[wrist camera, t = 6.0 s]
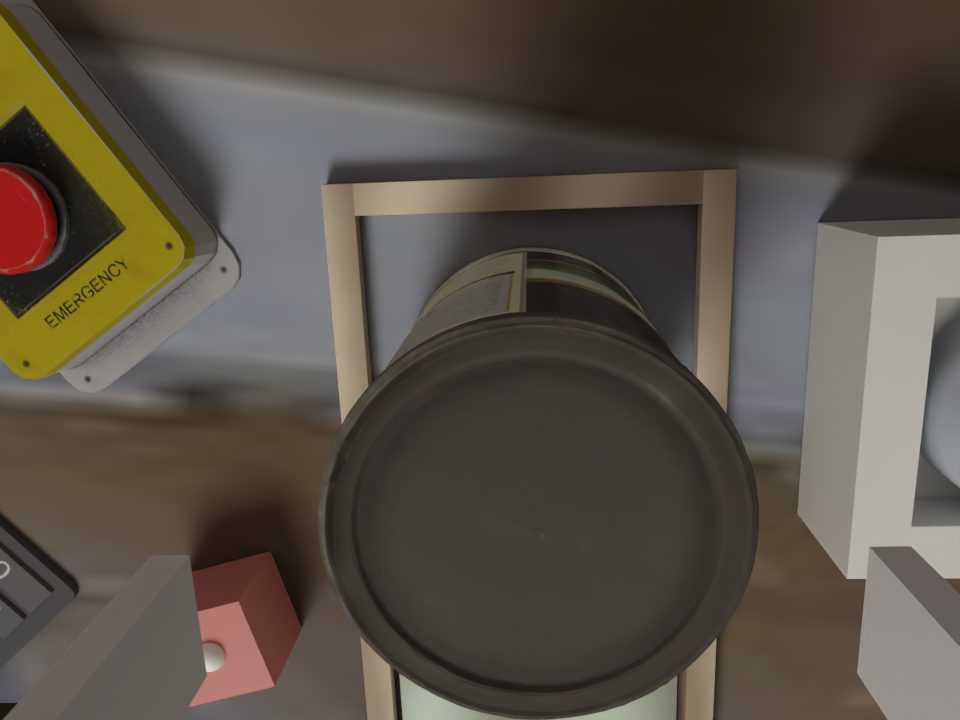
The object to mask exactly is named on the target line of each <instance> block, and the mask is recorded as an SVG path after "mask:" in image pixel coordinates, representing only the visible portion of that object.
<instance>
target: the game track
mask: <svg viewBox="0 0 960 720" xmlns="http://www.w3.org/2000/svg"><path fill="white" fill-rule="evenodd" d="M736 188H737V169H717V170H690V171H663V172H636V173H610V174H583V175H556V176H529V177H502V178H475V179H449V180H422V181H395V182H368V183H341V184H323V185H321V191H322V202H323V214H324V225H325V237H326V248H327V259H328V271H329V282H330V294H331V305H332V317H333V328H334V339H335V351H336V362H337V374H338V385H339V397H340V408H341V419H342V423H343V422H344V420H345V418H346V416H347V414H348V413H349V411H350V410H351V408H352V407H353V406H354V404H355V403H356V402H357V400H358V399H359V398H360V396H361V395H362V394H363V393H364V391H365V390H366V389H367V388H368V387H369V386H370V385H371V383H372V376H371V363H370V349H369V336H368V323H367V310H366V297H365V284H364V270H363V257H362V244H361V231H360V218H359V216H372V215H401V214H430V213H458V212H487V211H516V210H545V209H574V208H603V207H632V206H661V205H689V204H698V222H697V253H696V283H695V314H694V345H693V374H694V375H695V376H696V377H697V378H698V379H699V380H700V381H701V382H702V383H703V384H704V386H705V387H706V388H707V389H708V390H709V391H710V392H711V394H712V395H713V396H714V397H715V399H716V400H717V401H718V403H719V404H720V405H721V407H722V408H723V409H724V411H725V412H726V414H727V391H728V369H729V346H730V324H731V301H732V278H733V256H734V233H735V211H736ZM360 637H361V636H360ZM716 639H717V638H716ZM716 639H715V640H714V642H713V643H712V644H711V645H710V646H709V647H708V648H707V649H706V650H705V651H704V653H703V654H702V655H701V656H700V657H699V658H698V659H697V660H696V661H695V662H693V663H692V664H691V665H690V666H689V667H688V668H687V669H686V670H684V671H683V686H682V717H681V720H713V707H714V684H715V662H716ZM361 648H362V660H363V671H364V682H365V694H366V705H367V717H368V720H398V718H397V704H396V691H395V678H394V668H392V667H391V666H390V665H389V664H387V663H386V662H385V661H384V660H383V659H382V658H381V657H380V656H379V655H378V654H377V653H376V652H375V651H374V650H373V649H372V648H371V647H370V646H369V645H368V644H367V643H366V642H365V641H364V640H363V639H362V638H361ZM399 676H400V689H401V703H402V716H403V720H527V719H513V718H506V717H500V716H495V715H490V714H486V713H481V712H477V711H474V710H471V709H467V708H464V707H461V706H458V705H456V704H454V703H451V702H449V701H447V700H445V699H443V698H440V697H438V696H436V695H434V694H432V693H430V692H429V691H427V690H425V689H423V688H421V687H419V686H418V685H416V684H414V683H413V682H411V681H410V680H408V679H407V678H405V677H404V676H402V675H401V674H399ZM676 706H677V676H676V677H674V678H673V679H672V680H670V681H669V682H668V683H667V684H666V685H663V686H661V687H660V688H658V689H657V690H656V691H654V692H652V693H650V694H648V695H646V696H644V697H642V698H640V699H637V700H635V701H632V702H630V703H628V704H626V705H624V706H620V707H617V708H613V709H610V710H607V711H603V712H598V713H594V714H589V715H584V716H577V717H570V718H561V719H549V720H676Z"/></svg>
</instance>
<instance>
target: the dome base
mask: <svg viewBox="0 0 960 720" xmlns="http://www.w3.org/2000/svg"><path fill="white" fill-rule="evenodd" d="M958 316H960V218H946V219H915V220H885V221H855V222H824V223H818V230H817V244H816V258H815V272H814V287H813V301H812V315H811V329H810V343H809V357H808V371H807V385H806V399H805V413H804V427H803V441H802V455H801V470H800V484H799V498H798V512H797V514H798V515H799V516H800V517H801V519H802V520H803V521H804V523H805V524H806V525H807V527H808V528H809V529H810V531H811V532H812V533H813V535H814V536H815V537H816V539H817V540H818V541H819V543H820V544H821V545H822V547H823V548H824V549H825V550H826V552H827V553H828V554H829V556H830V557H831V558H832V560H833V561H834V562H835V564H836V565H837V566H838V568H839V569H840V570H841V572H842V573H843V574H844V576H845V577H846V578H847V579H866V576H867V566H868V556H869V547H886V546H911V547H912V548H913V549H914V550H915V551H916V552H917V553H918V554H919V555H920V556H921V557H922V558H923V559H924V560H925V561H926V562H927V563H928V564H929V565H930V566H932V567H933V568H934V569H935V570H936V571H937V572H938V573H939V574H940V575H941V576H942V577H943V578H960V488H959V487H958V486H957V485H955V484H954V483H953V482H951V481H950V480H949V479H948V478H946V477H945V476H944V475H942V474H941V473H940V472H938V471H937V470H936V469H935V468H934V467H932V466H931V465H930V464H929V463H928V462H927V461H926V460H925V459H924V457H923V456H922V455H921V454H920V444H921V435H922V426H923V417H924V408H925V399H926V390H927V381H928V372H929V363H930V354H931V345H932V339H933V337H934V336H935V335H936V334H937V333H938V332H939V331H940V330H941V329H942V328H944V327H945V326H946V325H947V324H949V323H950V322H951V321H952V320H954V319H955V318H956V317H958Z"/></svg>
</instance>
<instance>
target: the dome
mask: <svg viewBox="0 0 960 720" xmlns="http://www.w3.org/2000/svg"><path fill="white" fill-rule="evenodd" d="M920 454H921V455H922V456H923V457H924V459H925V460H926V461H927V462H928V463H929V464H930V465H931V466H932V467H934V468H935V469H936V470H937V471H938V472H940V473H941V474H942V475H944V476H945V477H946V478H948V479H949V480H950V481H951V482H953V483H954V484H955V485H957V486H958V487H959V488H960V316H958V317H956V318H955V319H954V320H952V321H951V322H950V323H949V324H947V325H946V326H945V327H944V328H942V329H941V330H940V331H939V332H938V333H937V334H936V335H935V336H934V337H933V339H932V345H931V354H930V363H929V372H928V381H927V390H926V399H925V408H924V417H923V426H922V435H921V444H920Z"/></svg>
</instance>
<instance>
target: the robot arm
mask: <svg viewBox="0 0 960 720" xmlns="http://www.w3.org/2000/svg"><path fill="white" fill-rule="evenodd" d="M857 674H858V675H859V677H860V678H861V680H862V681H863V683H864V684H865V686H866V687H867V689H868V690H869V692H870V693H871V695H872V696H873V698H874V699H875V701H876V702H877V704H878V705H879V707H880V709H881V710H882V712H883V713H884V715H885V716H886V718H887V719H888V720H960V594H959V593H958V592H957V591H956V590H955V589H954V588H953V587H952V586H951V585H950V584H949V583H948V582H947V581H946V580H945V579H944V578H943V577H942V576H941V575H940V574H939V573H938V572H937V571H936V570H935V569H934V568H933V567H932V566H930V565H929V564H928V563H927V562H926V561H925V560H924V559H923V558H922V557H921V556H920V555H919V554H918V553H917V552H916V551H915V550H914V549H913V548H912V547H911V546H886V547H869V556H868V566H867V576H866V587H865V597H864V607H863V618H862V628H861V639H860V649H859V659H858V670H857ZM206 677H207V673H206V666H205V659H204V652H203V645H202V638H201V632H200V625H199V618H198V611H197V604H196V597H195V590H194V583H193V576H192V570H191V563H190V556H189V555H172V556H151V557H150V558H149V559H148V560H147V561H146V562H145V564H144V565H143V566H142V567H141V568H140V569H139V570H138V571H137V572H136V573H135V575H134V576H133V577H132V578H131V579H130V580H129V581H128V582H127V583H126V585H125V586H124V587H123V588H122V589H121V590H120V591H119V592H118V593H117V594H116V596H115V597H114V598H113V599H112V600H111V601H110V602H109V603H108V604H107V605H106V607H105V608H104V609H103V610H102V611H101V612H100V613H99V614H98V615H97V616H96V618H95V619H94V620H93V621H92V622H91V623H90V624H89V625H88V626H87V627H86V629H85V630H84V631H83V632H82V633H81V634H80V635H79V636H78V637H77V638H76V640H75V641H74V642H73V643H72V644H71V645H70V646H69V647H68V648H67V649H66V651H65V652H64V653H63V654H62V655H61V656H60V657H59V658H58V659H57V660H56V662H55V663H54V664H53V665H52V666H51V667H50V668H49V669H48V670H47V671H46V673H45V674H44V675H43V676H42V677H41V678H40V679H39V680H38V681H37V682H36V684H35V685H34V686H33V687H32V688H31V689H30V690H29V691H28V692H27V693H26V695H25V696H24V697H23V698H22V699H21V700H20V701H19V702H18V703H0V720H181V719H182V717H183V716H184V714H185V712H186V710H187V709H188V707H189V705H190V704H191V702H192V700H193V699H194V697H195V695H196V694H197V692H198V690H199V689H200V687H201V685H202V683H203V682H204V680H205V678H206Z"/></svg>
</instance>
